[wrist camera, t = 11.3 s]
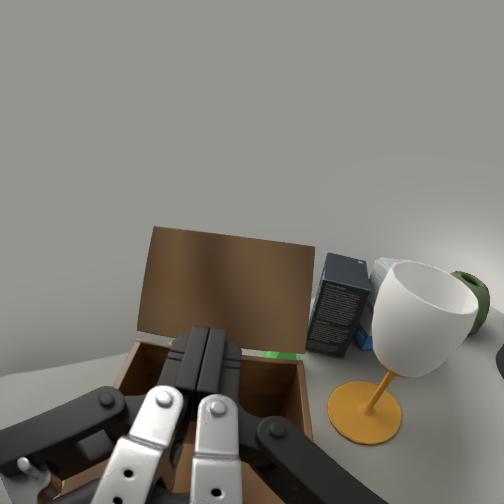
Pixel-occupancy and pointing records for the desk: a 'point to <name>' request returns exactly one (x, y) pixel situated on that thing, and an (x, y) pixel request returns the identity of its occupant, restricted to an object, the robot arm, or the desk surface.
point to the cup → (404, 345)
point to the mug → (480, 293)
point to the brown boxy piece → (250, 398)
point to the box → (338, 305)
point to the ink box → (372, 302)
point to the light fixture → (500, 360)
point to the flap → (228, 288)
